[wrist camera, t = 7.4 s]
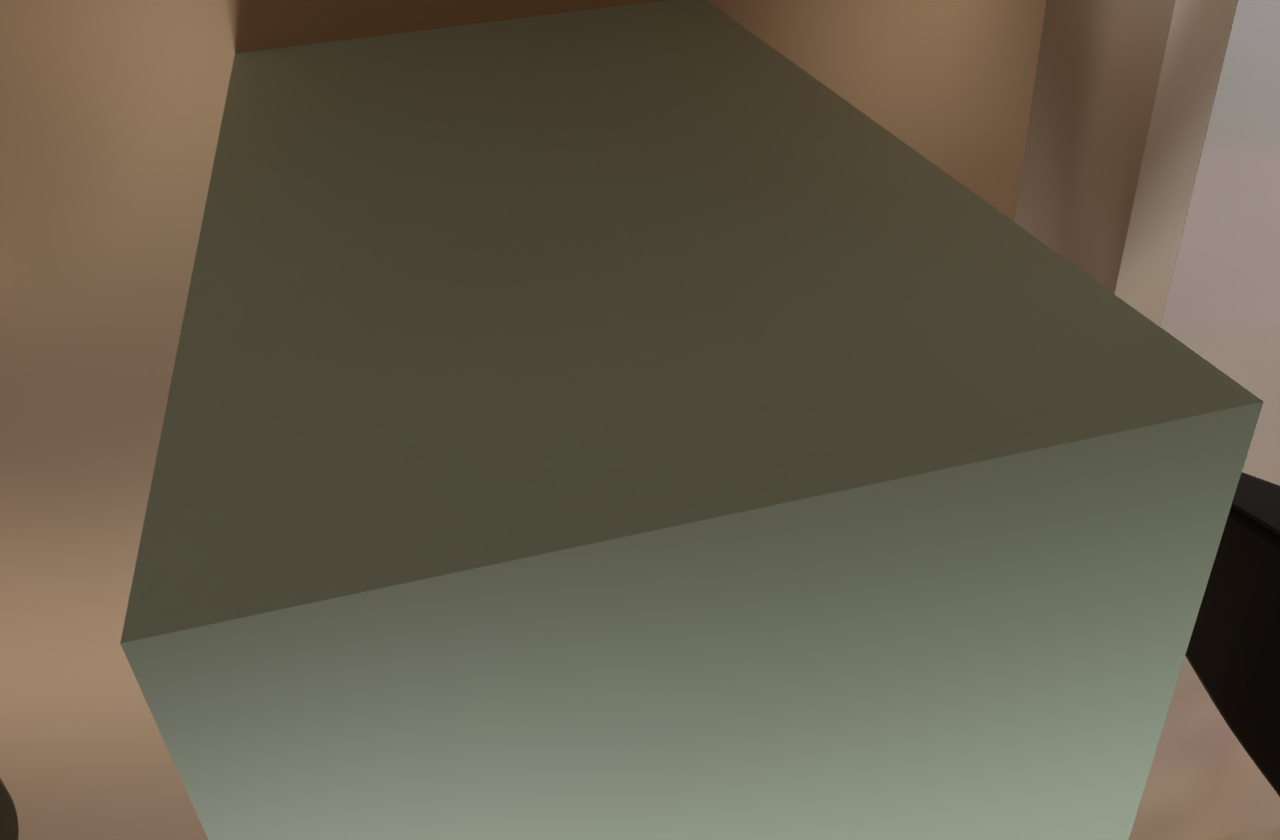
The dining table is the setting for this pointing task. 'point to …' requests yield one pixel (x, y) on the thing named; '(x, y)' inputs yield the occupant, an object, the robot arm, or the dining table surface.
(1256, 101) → the dining table surface
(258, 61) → the tea box
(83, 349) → the wooden tray
